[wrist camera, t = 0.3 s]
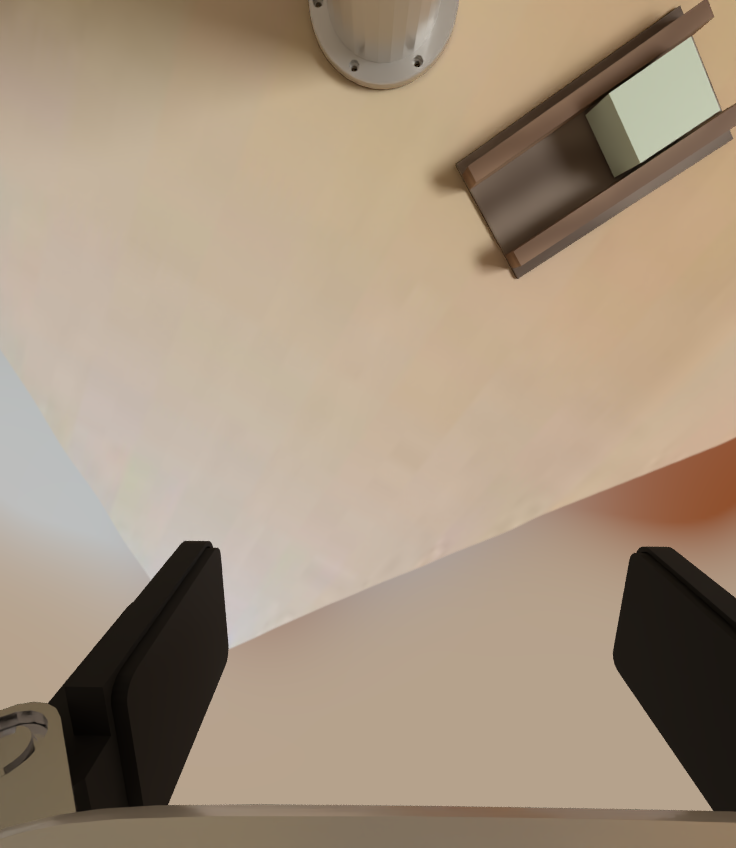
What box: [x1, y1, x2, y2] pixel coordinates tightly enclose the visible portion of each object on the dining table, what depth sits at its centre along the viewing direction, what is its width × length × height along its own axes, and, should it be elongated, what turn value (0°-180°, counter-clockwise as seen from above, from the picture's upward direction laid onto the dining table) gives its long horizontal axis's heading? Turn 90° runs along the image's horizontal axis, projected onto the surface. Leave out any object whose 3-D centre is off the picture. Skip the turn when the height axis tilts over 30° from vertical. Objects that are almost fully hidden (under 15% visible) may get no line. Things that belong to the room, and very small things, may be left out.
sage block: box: [585, 37, 720, 178], centre depth 37 cm, size 6×7×4 cm
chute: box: [456, 0, 736, 279], centre depth 39 cm, size 12×22×3 cm, turn 123°
